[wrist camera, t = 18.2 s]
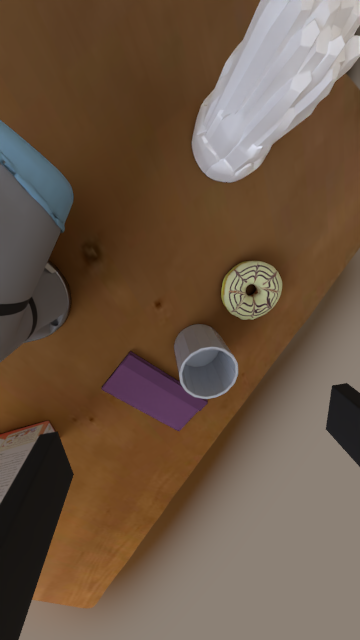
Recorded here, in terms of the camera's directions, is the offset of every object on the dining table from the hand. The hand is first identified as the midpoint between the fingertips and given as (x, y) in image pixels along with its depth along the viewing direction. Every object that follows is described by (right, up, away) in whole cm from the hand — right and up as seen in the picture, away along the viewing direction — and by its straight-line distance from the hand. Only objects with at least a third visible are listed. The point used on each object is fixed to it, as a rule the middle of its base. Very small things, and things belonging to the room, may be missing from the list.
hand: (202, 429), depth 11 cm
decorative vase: (+6, +32, +24) cm, 41 cm away
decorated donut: (+11, +11, +32) cm, 36 cm away
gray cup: (+2, 0, +35) cm, 35 cm away
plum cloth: (-6, -10, +38) cm, 40 cm away
